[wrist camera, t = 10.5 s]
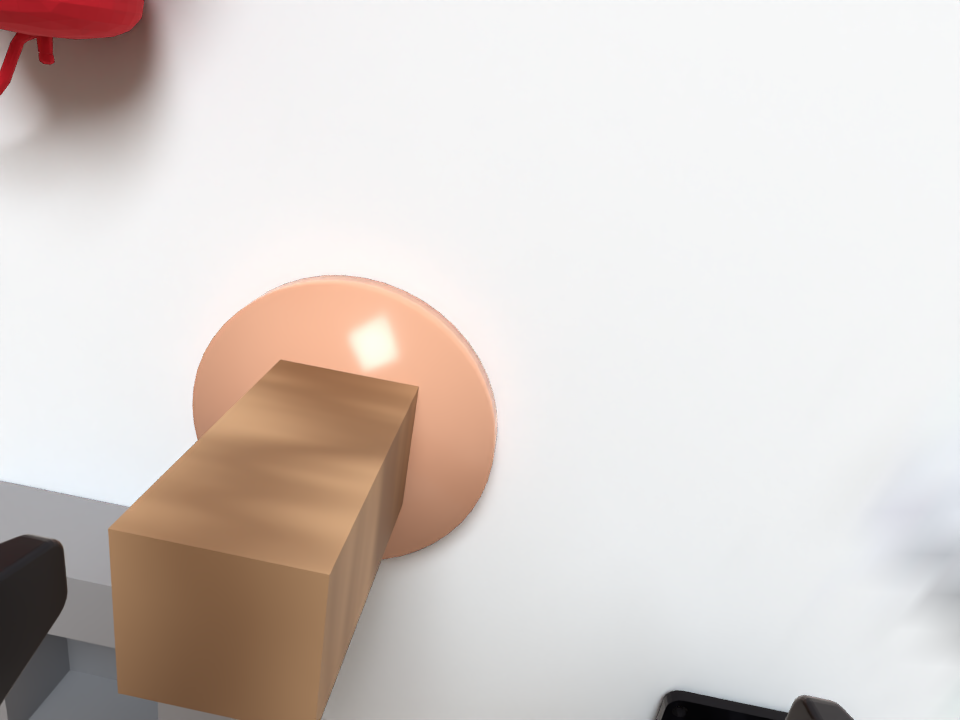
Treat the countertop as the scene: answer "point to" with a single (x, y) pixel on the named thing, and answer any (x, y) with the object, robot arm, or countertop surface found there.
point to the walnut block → (262, 547)
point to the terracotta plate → (379, 354)
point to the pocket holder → (75, 617)
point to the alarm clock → (61, 25)
